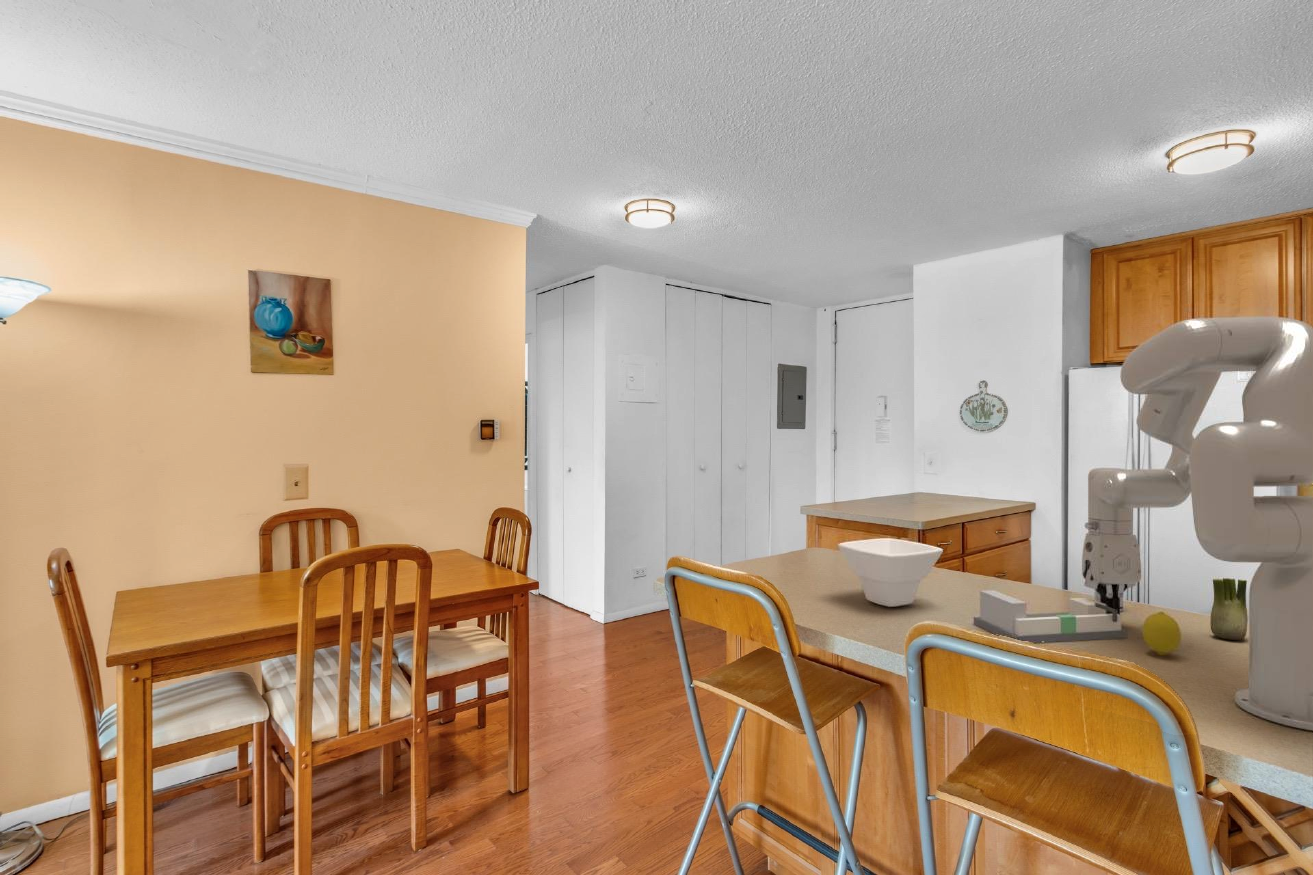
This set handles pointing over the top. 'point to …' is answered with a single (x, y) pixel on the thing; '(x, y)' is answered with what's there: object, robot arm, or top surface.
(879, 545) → the bowl
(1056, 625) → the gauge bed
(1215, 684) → the top surface
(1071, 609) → the carriage
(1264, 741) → the top surface
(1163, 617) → the lemon
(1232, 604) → the fennel bulb
